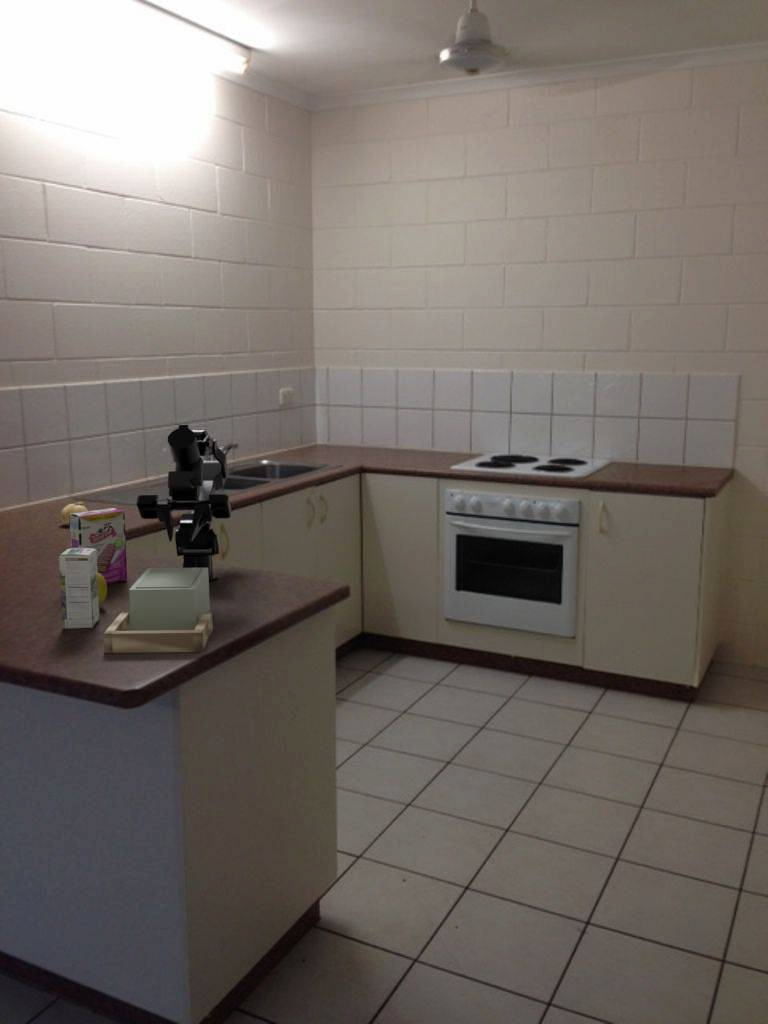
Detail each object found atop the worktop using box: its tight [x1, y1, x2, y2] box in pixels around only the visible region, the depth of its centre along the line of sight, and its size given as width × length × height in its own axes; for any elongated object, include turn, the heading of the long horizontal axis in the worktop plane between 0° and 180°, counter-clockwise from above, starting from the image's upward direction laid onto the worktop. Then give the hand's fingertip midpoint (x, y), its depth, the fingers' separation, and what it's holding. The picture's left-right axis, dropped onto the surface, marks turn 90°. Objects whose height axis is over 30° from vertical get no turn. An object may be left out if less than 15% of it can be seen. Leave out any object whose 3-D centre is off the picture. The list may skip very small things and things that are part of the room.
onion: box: [60, 500, 89, 527], centre depth 270 cm, size 8×8×7 cm
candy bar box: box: [69, 507, 128, 585], centre depth 205 cm, size 11×5×16 cm, turn 134°
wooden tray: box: [102, 611, 214, 654], centre depth 167 cm, size 12×17×4 cm
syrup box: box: [58, 547, 100, 630], centre depth 175 cm, size 6×6×14 cm
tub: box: [128, 567, 211, 631], centre depth 177 cm, size 16×12×9 cm
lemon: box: [98, 573, 108, 605], centre depth 187 cm, size 6×6×8 cm
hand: (180, 540), depth 187 cm, fingers open, 4 cm apart
